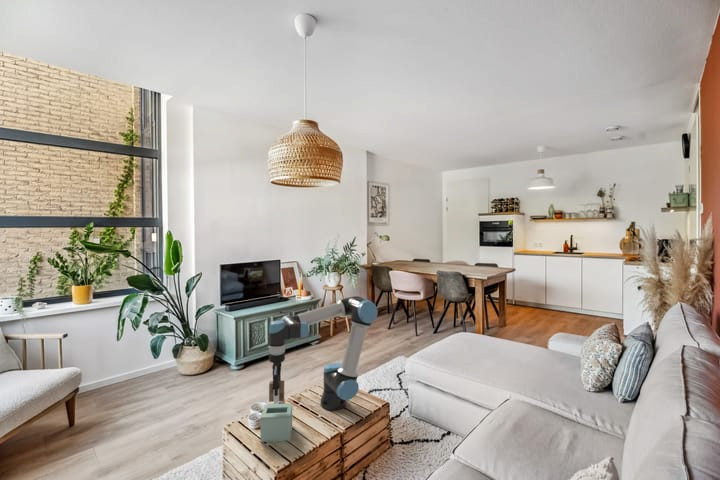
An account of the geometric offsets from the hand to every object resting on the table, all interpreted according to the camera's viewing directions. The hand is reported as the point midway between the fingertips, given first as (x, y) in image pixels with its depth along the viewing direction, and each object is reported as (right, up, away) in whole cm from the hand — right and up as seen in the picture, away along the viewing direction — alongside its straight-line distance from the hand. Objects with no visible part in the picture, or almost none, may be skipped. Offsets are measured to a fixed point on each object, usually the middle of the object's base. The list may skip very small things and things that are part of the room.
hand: (276, 399), depth 172 cm
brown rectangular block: (0, 0, 0) cm, 0 cm away
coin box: (0, -18, +1) cm, 18 cm away
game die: (-3, -17, +19) cm, 26 cm away
